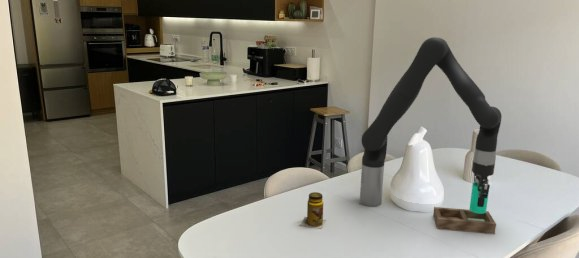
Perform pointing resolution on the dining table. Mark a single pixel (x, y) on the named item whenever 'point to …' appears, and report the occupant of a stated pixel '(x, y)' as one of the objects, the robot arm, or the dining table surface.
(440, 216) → the slot rack
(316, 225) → the condiment
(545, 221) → the dining table surface
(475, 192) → the candle
